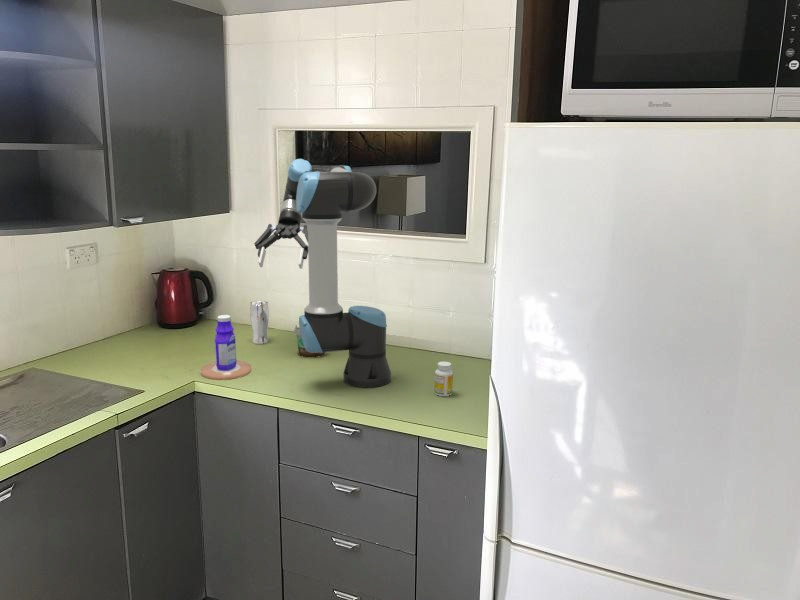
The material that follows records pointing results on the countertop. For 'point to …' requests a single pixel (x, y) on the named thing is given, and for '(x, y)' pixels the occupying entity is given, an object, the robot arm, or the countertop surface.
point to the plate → (236, 372)
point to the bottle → (225, 344)
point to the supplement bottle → (443, 379)
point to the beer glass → (259, 321)
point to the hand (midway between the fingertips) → (280, 265)
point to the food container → (301, 347)
